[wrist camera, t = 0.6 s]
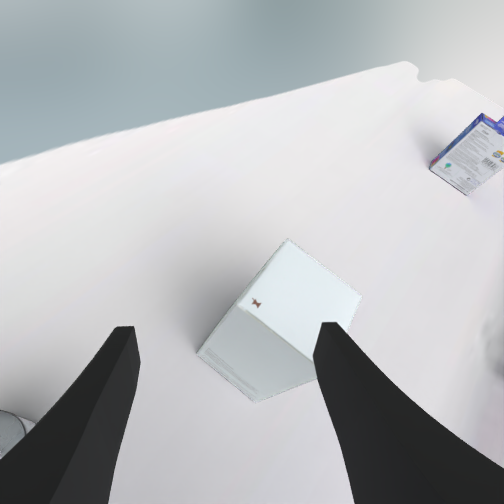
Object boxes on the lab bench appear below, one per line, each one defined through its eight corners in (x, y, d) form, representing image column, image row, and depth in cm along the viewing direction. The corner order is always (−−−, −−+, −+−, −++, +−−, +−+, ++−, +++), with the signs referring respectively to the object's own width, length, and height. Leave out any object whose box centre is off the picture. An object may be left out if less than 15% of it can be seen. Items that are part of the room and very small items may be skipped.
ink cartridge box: (468, 184, 68) (539, 130, 56) (467, 197, 64) (542, 142, 53) (431, 158, 68) (494, 99, 57) (428, 169, 65) (494, 109, 53)
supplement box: (255, 406, 28) (330, 380, 18) (193, 354, 29) (232, 301, 19) (291, 343, 33) (366, 295, 23) (237, 299, 33) (287, 234, 23)
